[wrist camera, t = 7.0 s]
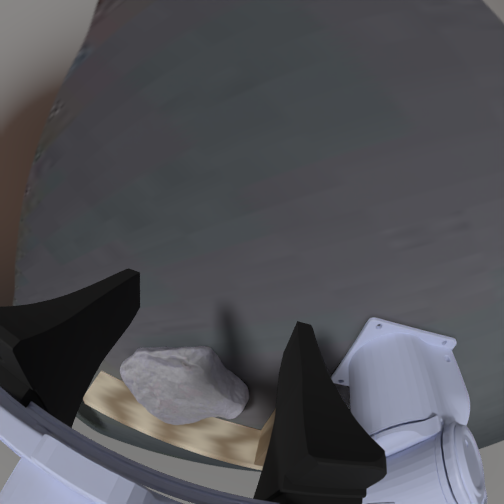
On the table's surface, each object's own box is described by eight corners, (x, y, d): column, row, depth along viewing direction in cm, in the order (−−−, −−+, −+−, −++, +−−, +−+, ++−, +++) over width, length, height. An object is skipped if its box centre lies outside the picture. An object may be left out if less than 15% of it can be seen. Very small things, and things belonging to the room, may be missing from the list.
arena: (314, 374, 25) (311, 419, 20) (269, 437, 32) (262, 470, 27) (87, 295, 26) (58, 325, 21) (102, 377, 33) (85, 403, 28)
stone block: (130, 343, 31) (176, 408, 32) (105, 365, 26) (159, 433, 27) (208, 313, 27) (258, 391, 28) (185, 339, 22) (246, 423, 23)
